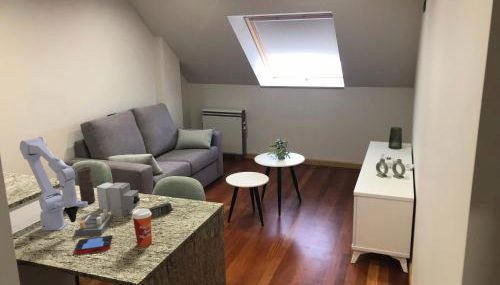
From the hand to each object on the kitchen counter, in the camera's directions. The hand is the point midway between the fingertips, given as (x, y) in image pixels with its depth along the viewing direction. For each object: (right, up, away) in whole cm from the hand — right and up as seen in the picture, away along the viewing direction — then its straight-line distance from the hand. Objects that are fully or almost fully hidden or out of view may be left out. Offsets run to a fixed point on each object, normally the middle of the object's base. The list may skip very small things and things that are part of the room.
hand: (73, 221), depth 186 cm
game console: (+13, -9, -9) cm, 19 cm away
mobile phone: (+36, -1, +20) cm, 41 cm away
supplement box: (+6, +1, +30) cm, 31 cm away
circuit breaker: (+18, 0, +23) cm, 29 cm away
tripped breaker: (+4, -3, +1) cm, 5 cm away
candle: (-8, +3, +38) cm, 39 cm away
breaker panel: (+7, -4, +8) cm, 11 cm away
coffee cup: (+35, -8, -9) cm, 37 cm away
